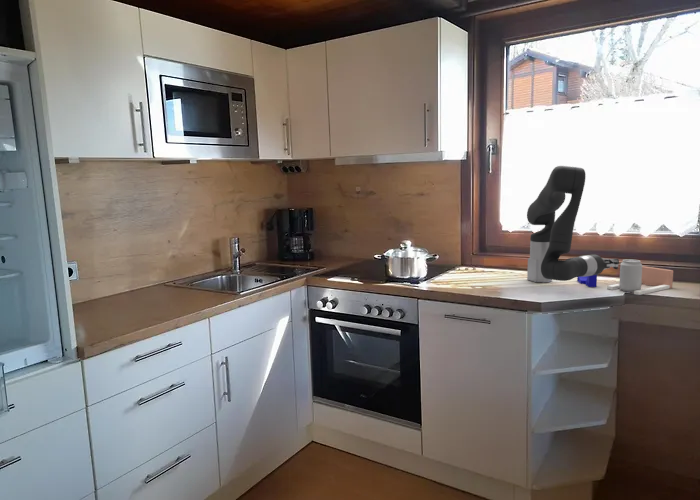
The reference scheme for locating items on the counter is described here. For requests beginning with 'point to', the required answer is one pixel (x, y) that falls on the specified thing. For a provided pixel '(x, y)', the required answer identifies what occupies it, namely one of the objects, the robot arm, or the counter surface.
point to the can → (630, 275)
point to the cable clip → (588, 280)
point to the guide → (652, 280)
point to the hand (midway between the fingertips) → (616, 261)
